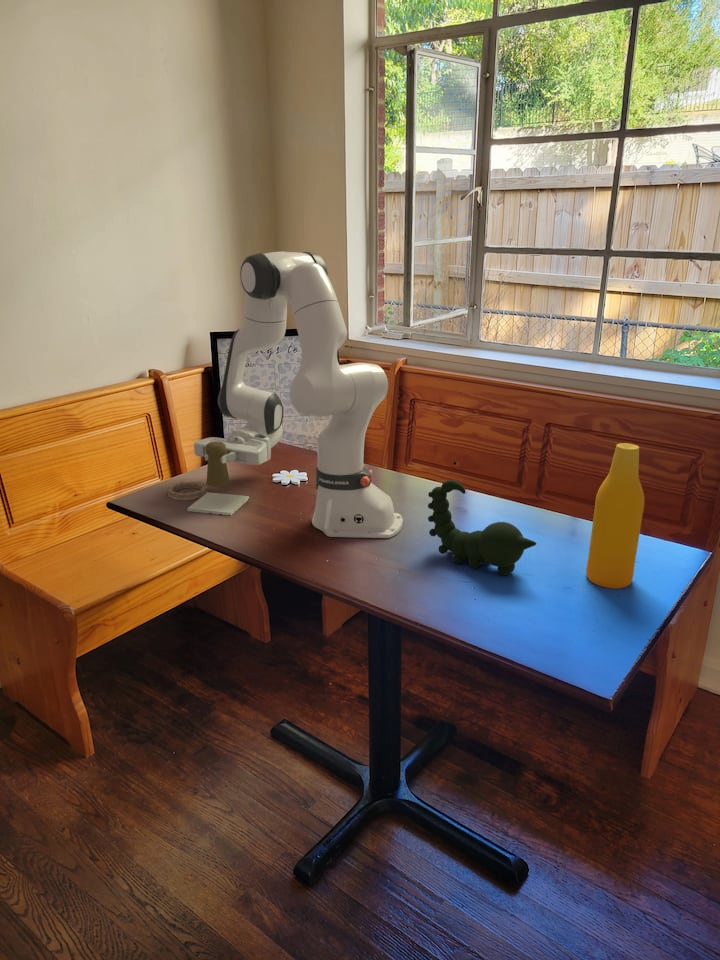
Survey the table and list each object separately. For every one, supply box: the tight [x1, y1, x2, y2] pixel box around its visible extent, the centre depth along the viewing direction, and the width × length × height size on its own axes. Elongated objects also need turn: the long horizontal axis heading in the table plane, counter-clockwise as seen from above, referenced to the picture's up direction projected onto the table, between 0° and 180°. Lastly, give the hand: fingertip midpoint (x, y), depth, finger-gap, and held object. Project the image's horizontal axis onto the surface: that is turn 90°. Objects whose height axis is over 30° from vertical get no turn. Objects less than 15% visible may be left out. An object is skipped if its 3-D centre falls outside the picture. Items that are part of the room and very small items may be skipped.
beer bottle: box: [585, 442, 645, 590], centre depth 139 cm, size 9×9×29 cm
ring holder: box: [167, 480, 209, 501], centre depth 189 cm, size 10×10×2 cm
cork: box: [205, 441, 231, 488], centre depth 177 cm, size 6×6×11 cm
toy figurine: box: [427, 479, 537, 576], centre depth 146 cm, size 9×19×25 cm
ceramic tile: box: [186, 491, 250, 517], centre depth 181 cm, size 12×12×1 cm
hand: (213, 459), depth 176 cm, fingers closed on cork, 3 cm apart
